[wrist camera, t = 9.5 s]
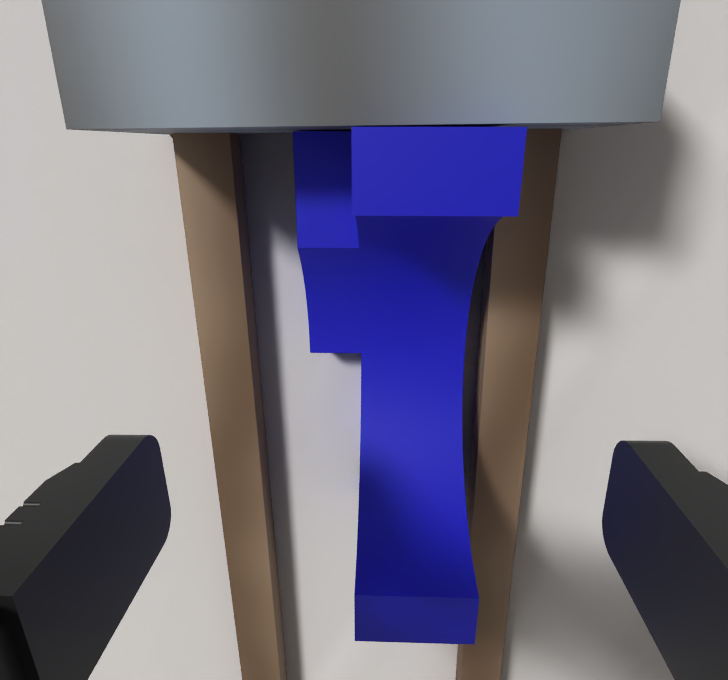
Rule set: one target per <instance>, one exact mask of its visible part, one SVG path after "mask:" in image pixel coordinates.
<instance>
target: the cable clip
mask: <svg viewBox="0 0 728 680" xmlns="http://www.w3.org/2000/svg"><path fill="white" fill-rule="evenodd" d="M526 133H527V127H351V131H293V151H294V174H295V197H296V221H297V244H298V251H299V255H300V260H301V265H302V270H303V276H304V283H305V290H306V299H307V309H308V320H309V335H310V353H361V443H360V483H359V513H358V538H357V560H356V579H355V641H376V642H410V643H443V644H475V637H476V627H477V617H478V607H479V594H478V589H477V584H476V579H475V573H474V567H473V560H472V554H471V547H470V538H469V530H468V521H467V511H466V499H465V485H464V467H463V437H462V402H463V373H464V356H465V344H466V333H467V324H468V316H469V309H470V302H471V296H472V291H473V285H474V281H475V276H476V272H477V268H478V264H479V260H480V257H481V254H482V251H483V248H484V246H485V243H486V240H487V238H488V236H489V234H490V232H491V231H492V229H493V227H494V226H495V224H496V223H497V222H498V221H499V220H500V219H501V218H503V217H504V216H514V217H518V212H519V202H520V193H521V183H522V173H523V163H524V153H525V143H526Z"/></svg>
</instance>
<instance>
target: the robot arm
mask: <svg viewBox="0 0 728 680" xmlns="http://www.w3.org/2000/svg"><path fill="white" fill-rule="evenodd" d="M170 521H171V507H170V501H169V496H168V490H167V485H166V479H165V474H164V468H163V463H162V457H161V451H160V447H159V443H158V441H157V439H156V438H155V437H154V436H152V435H108V436H106V437H105V438H104V439H103V440H102V441H101V442H100V443H99V444H98V445H97V446H96V447H95V448H94V449H93V450H92V451H91V452H90V453H89V454H88V455H87V456H86V457H85V458H84V459H83V460H82V461H81V462H80V463H74V464H73V465H71V466H69V467H68V468H66V469H64V470H63V471H61V472H59V473H57V474H56V475H54V476H52V477H51V478H49V479H47V480H46V481H45V482H44V483H43V484H42V485H41V486H40V487H39V488H38V489H36V490H35V491H34V492H33V493H32V494H31V495H30V496H29V497H28V498H27V499H26V500H25V501H24V505H23V507H18V508H17V509H16V510H15V511H14V512H13V513H12V514H11V515H10V516H9V517H8V518H7V519H6V520H5V524H4V525H0V680H88V678H89V676H90V675H91V673H92V671H93V669H94V667H95V666H96V664H97V662H98V660H99V659H100V657H101V655H102V653H103V652H104V650H105V648H106V646H107V644H108V643H109V641H110V639H111V637H112V636H113V634H114V632H115V630H116V629H117V627H118V625H119V623H120V621H121V620H122V618H123V616H124V614H125V613H126V611H127V609H128V607H129V605H130V604H131V602H132V600H133V598H134V597H135V595H136V593H137V591H138V590H139V588H140V586H141V584H142V582H143V581H144V579H145V577H146V575H147V574H148V572H149V570H150V568H151V567H152V565H153V563H154V561H155V559H156V558H157V556H158V554H159V552H160V551H161V549H162V547H163V545H164V543H165V541H166V539H167V536H168V532H169V528H170ZM602 529H603V537H604V541H605V545H606V548H607V551H608V554H609V556H610V558H611V560H612V561H613V563H614V565H615V567H616V569H617V571H618V573H619V575H620V577H621V579H622V580H623V582H624V584H625V586H626V588H627V590H628V592H629V594H630V596H631V598H632V599H633V601H634V603H635V605H636V607H637V609H638V611H639V613H640V615H641V617H642V618H643V620H644V622H645V624H646V626H647V628H648V630H649V632H650V634H651V635H652V637H653V639H654V641H655V643H656V645H657V647H658V649H659V651H660V653H661V654H662V656H663V658H664V660H665V662H666V664H667V666H668V668H669V670H670V672H671V673H672V675H673V677H674V679H675V680H728V485H727V484H725V483H724V482H722V481H720V480H719V479H717V478H716V477H714V476H712V475H711V474H709V473H707V472H699V471H698V470H697V469H696V468H695V467H694V466H693V465H692V464H691V463H690V462H689V461H688V459H687V458H686V457H685V456H684V455H683V454H682V453H681V452H680V451H679V450H678V449H677V448H676V447H675V446H674V445H673V444H672V443H670V442H668V441H620V442H618V444H617V445H616V447H615V449H614V453H613V458H612V463H611V469H610V475H609V481H608V487H607V492H606V498H605V504H604V510H603V517H602Z"/></svg>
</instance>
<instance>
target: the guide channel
mask: <svg viewBox="0 0 728 680" xmlns="http://www.w3.org/2000/svg"><path fill="white" fill-rule="evenodd" d="M680 1H681V0H42V5H43V10H44V15H45V20H46V26H47V31H48V36H49V41H50V46H51V51H52V57H53V62H54V67H55V72H56V77H57V82H58V88H59V93H60V98H61V103H62V108H63V114H64V119H65V124H66V129H72V130H91V131H111V132H131V133H150V134H172V136H173V143H174V151H175V159H176V167H177V174H178V182H179V190H180V198H181V206H182V213H183V221H184V229H185V237H186V245H187V252H188V260H189V268H190V276H191V283H192V291H193V299H194V307H195V315H196V322H197V330H198V338H199V346H200V353H201V361H202V369H203V377H204V385H205V392H206V400H207V408H208V416H209V423H210V431H211V439H212V447H213V455H214V462H215V470H216V478H217V486H218V494H219V501H220V509H221V517H222V525H223V532H224V540H225V548H226V556H227V564H228V571H229V579H230V587H231V595H232V602H233V610H234V618H235V626H236V634H237V641H238V649H239V657H240V665H241V672H242V680H287V676H286V664H285V653H284V641H283V630H282V618H281V607H280V595H279V584H278V572H277V561H276V549H275V538H274V527H273V515H272V504H271V492H270V481H269V469H268V458H267V446H266V435H265V423H264V412H263V400H262V389H261V377H260V366H259V354H258V343H257V332H256V320H255V309H254V297H253V286H252V274H251V263H250V251H249V240H248V228H247V217H246V205H245V194H244V182H243V171H242V159H241V148H240V137H239V133H293V131H351V127H527V133H526V143H525V153H524V163H523V173H522V183H521V193H520V202H519V212H518V217H514V216H504V217H503V218H501V219H500V220H499V221H498V222H497V223H496V224H495V226H494V227H493V229H492V231H491V232H490V234H489V236H488V238H487V240H486V253H485V267H484V281H483V296H482V310H481V324H480V338H479V353H478V367H477V381H476V396H475V410H474V424H473V439H472V453H471V467H470V482H469V496H468V510H467V521H468V530H469V538H470V547H471V554H472V560H473V567H474V573H475V579H476V584H477V589H478V594H479V607H478V617H477V627H476V637H475V644H458V653H457V668H456V680H500V677H501V668H502V659H503V650H504V641H505V632H506V623H507V614H508V605H509V596H510V587H511V578H512V569H513V560H514V551H515V542H516V533H517V524H518V515H519V506H520V497H521V488H522V480H523V471H524V462H525V453H526V444H527V435H528V426H529V417H530V408H531V399H532V390H533V381H534V372H535V363H536V354H537V345H538V336H539V327H540V318H541V309H542V300H543V291H544V282H545V273H546V264H547V255H548V246H549V237H550V228H551V219H552V210H553V201H554V192H555V183H556V174H557V165H558V156H559V147H560V138H561V129H578V128H590V127H602V126H613V125H625V124H636V123H648V122H660V118H661V112H662V106H663V100H664V94H665V89H666V83H667V77H668V71H669V65H670V59H671V53H672V48H673V42H674V36H675V30H676V24H677V18H678V12H679V7H680Z"/></svg>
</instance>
